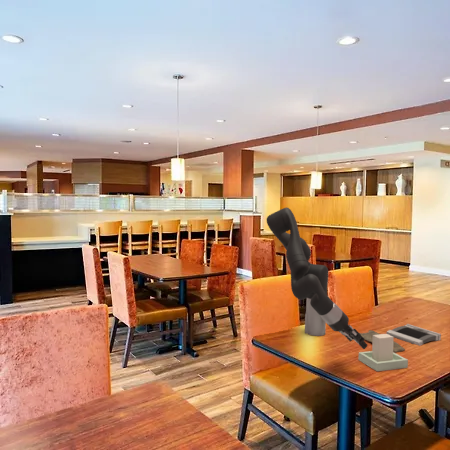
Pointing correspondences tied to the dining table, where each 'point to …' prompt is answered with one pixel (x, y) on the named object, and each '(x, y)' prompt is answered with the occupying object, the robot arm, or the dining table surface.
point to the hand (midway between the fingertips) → (358, 343)
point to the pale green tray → (383, 362)
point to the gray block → (382, 347)
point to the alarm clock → (414, 334)
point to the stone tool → (370, 333)
